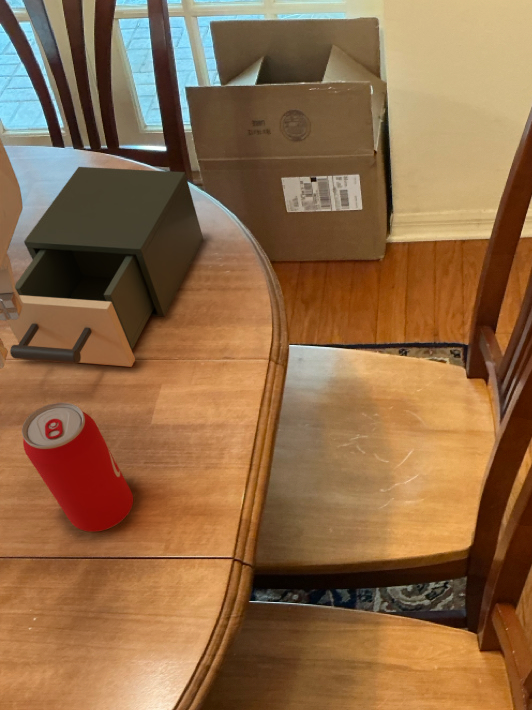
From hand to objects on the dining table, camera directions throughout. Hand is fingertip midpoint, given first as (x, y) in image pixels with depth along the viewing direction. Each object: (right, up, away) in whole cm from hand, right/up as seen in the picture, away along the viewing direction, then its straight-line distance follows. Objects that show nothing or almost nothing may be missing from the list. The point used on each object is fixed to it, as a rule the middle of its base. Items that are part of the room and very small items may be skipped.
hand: (4, 338), depth 57 cm
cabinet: (-4, +18, +39) cm, 43 cm away
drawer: (-6, +9, +31) cm, 33 cm away
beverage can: (+1, -12, +17) cm, 21 cm away
